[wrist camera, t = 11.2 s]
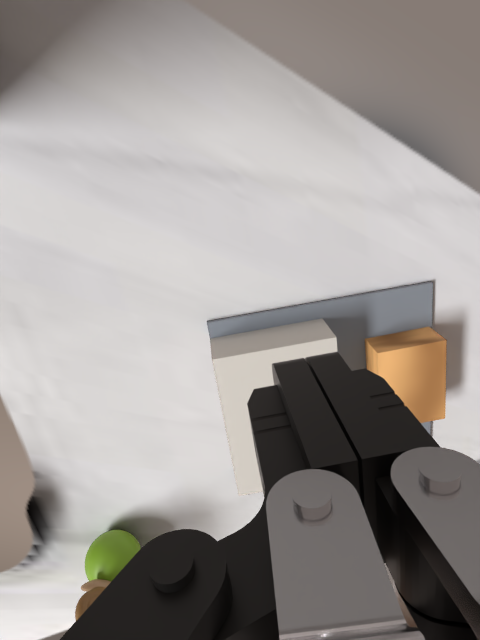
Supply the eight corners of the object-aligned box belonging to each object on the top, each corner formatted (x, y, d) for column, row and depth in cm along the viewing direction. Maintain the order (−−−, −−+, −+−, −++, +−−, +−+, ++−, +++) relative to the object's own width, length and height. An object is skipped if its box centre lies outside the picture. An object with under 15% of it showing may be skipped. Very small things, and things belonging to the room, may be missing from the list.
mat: (236, 474, 45) (237, 477, 44) (206, 321, 38) (207, 322, 38) (428, 437, 45) (430, 440, 45) (430, 281, 39) (432, 282, 39)
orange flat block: (445, 418, 40) (428, 400, 43) (446, 340, 37) (428, 326, 40) (381, 430, 40) (369, 412, 43) (377, 353, 37) (364, 338, 40)
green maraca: (139, 565, 48) (123, 692, 37) (82, 547, 46) (48, 674, 35) (162, 530, 46) (152, 651, 35) (104, 510, 45) (76, 631, 34)
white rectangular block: (234, 462, 44) (238, 496, 40) (209, 336, 39) (211, 359, 35) (332, 444, 44) (346, 475, 40) (321, 316, 39) (336, 337, 35)
